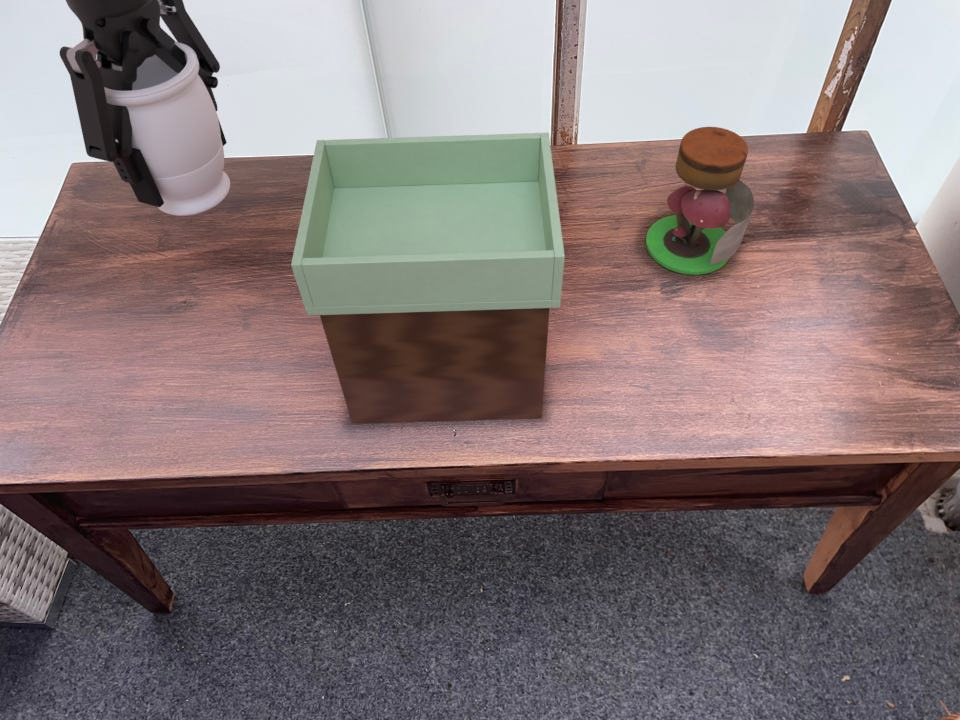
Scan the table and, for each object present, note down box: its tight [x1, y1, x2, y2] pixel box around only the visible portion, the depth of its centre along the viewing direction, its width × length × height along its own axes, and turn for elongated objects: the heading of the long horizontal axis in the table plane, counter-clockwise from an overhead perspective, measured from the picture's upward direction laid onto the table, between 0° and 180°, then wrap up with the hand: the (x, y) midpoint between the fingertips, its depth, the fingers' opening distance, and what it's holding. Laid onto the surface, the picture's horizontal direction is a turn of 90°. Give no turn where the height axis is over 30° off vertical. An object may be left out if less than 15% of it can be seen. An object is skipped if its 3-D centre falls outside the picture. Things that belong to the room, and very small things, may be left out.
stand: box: [319, 308, 551, 425], centre depth 74 cm, size 20×15×18 cm
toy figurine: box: [645, 126, 755, 276], centre depth 85 cm, size 12×13×15 cm
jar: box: [104, 41, 231, 217], centre depth 75 cm, size 11×10×15 cm
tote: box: [290, 132, 566, 316], centre depth 64 cm, size 22×17×6 cm
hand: (184, 171), depth 78 cm, fingers closed on jar, 11 cm apart
